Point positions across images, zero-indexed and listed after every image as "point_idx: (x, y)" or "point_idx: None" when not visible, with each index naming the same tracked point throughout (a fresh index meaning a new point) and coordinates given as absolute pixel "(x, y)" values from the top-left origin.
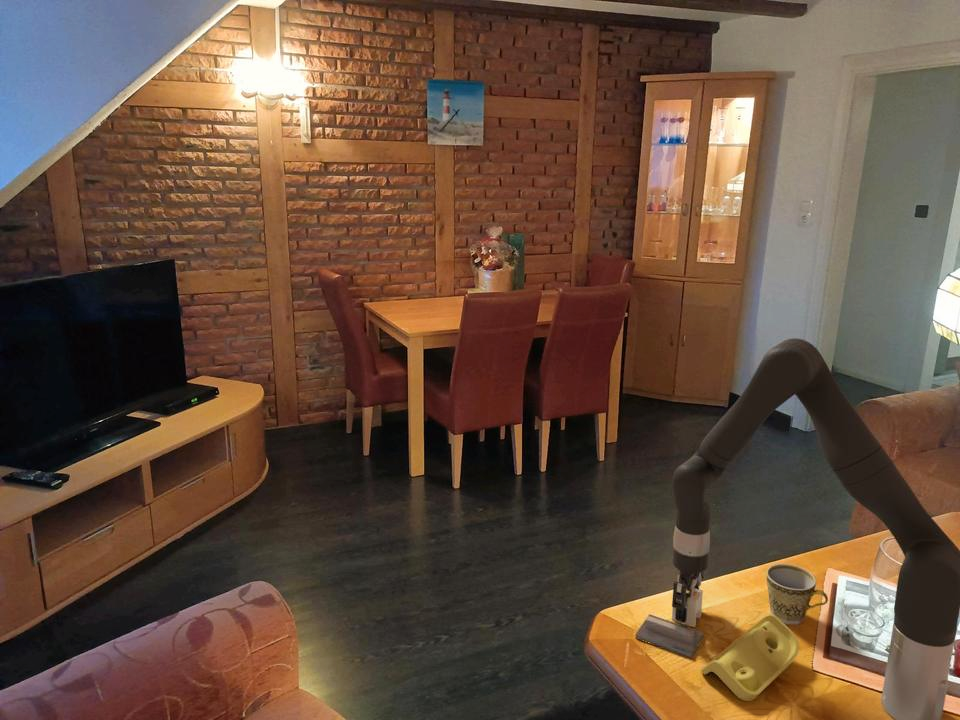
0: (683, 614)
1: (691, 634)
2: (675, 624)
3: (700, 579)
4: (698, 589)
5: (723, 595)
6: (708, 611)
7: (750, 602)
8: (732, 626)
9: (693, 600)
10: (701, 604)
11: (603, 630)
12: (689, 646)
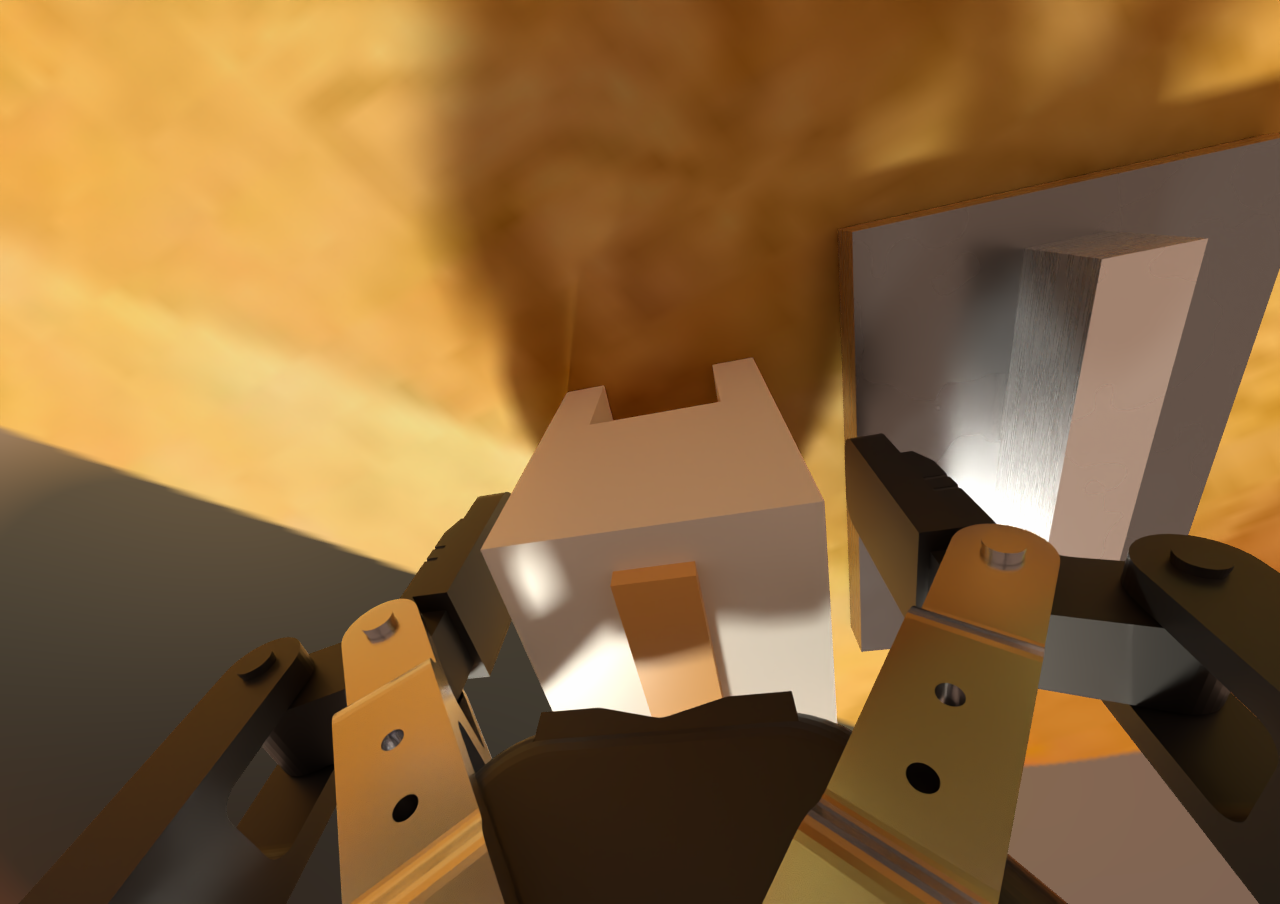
0: (939, 493)
1: (1187, 256)
2: None
3: (392, 735)
4: (509, 596)
5: (190, 386)
6: (469, 375)
7: (8, 142)
8: (477, 72)
9: (811, 540)
10: (552, 442)
11: (1123, 735)
12: (1173, 223)
